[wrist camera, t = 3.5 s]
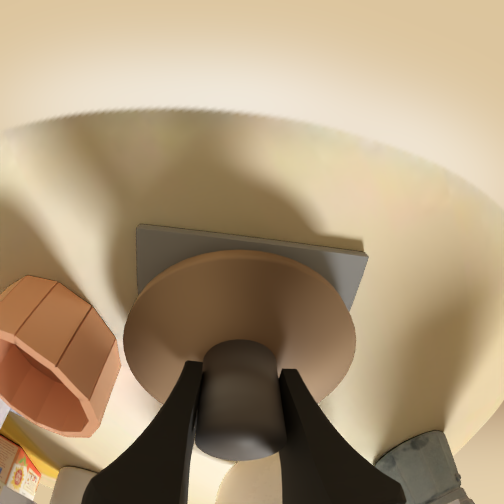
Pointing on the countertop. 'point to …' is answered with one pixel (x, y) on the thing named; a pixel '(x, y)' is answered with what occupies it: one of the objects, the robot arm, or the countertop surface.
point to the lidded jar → (252, 482)
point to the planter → (55, 357)
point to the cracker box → (17, 469)
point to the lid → (239, 343)
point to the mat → (200, 242)
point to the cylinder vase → (71, 485)
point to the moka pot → (425, 470)
